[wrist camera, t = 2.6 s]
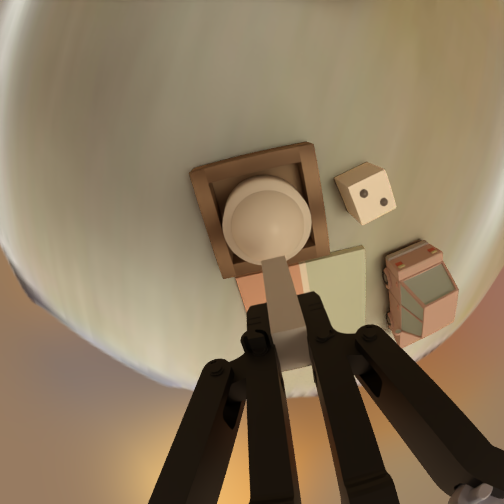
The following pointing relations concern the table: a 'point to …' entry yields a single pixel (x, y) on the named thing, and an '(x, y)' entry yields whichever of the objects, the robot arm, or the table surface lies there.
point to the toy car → (419, 292)
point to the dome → (266, 219)
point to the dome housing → (258, 163)
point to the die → (366, 192)
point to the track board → (323, 286)
